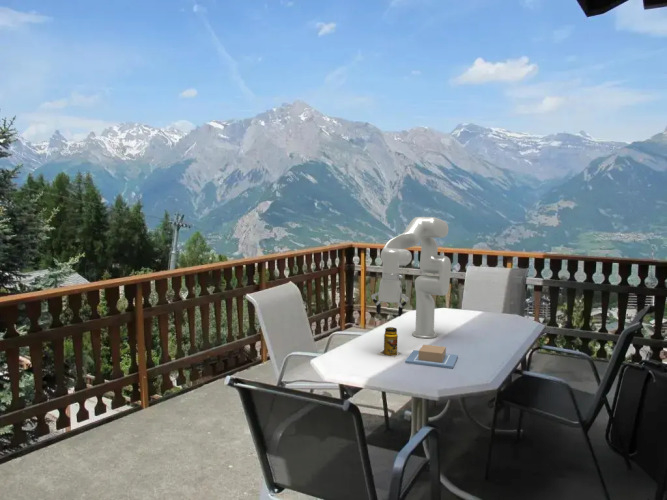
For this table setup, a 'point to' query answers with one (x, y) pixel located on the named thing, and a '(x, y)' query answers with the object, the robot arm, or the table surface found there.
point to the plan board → (448, 365)
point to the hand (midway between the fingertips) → (389, 314)
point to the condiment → (390, 342)
